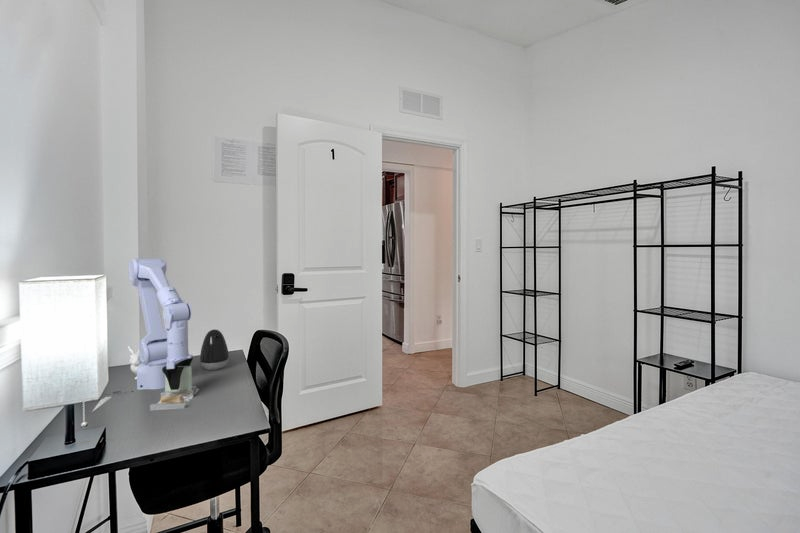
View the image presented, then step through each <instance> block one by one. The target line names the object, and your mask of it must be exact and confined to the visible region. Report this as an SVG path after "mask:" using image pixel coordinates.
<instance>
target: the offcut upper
mask: <svg viewBox="0 0 800 533" xmlns="http://www.w3.org/2000/svg"><path fill="white" fill-rule="evenodd" d="M181 399H182V395H167V396H163V397H162V398H161V397H160V400H161V403H164V402H179V401H180V400H181Z"/></svg>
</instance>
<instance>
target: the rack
mask: <svg viewBox="0 0 800 533" xmlns="http://www.w3.org/2000/svg"><path fill="white" fill-rule="evenodd" d="M199 390H200V388H197V386H195V385H194V386H193V385H192V390H186V391H170V392H166V391H165V390H164V391H161V392H160V399H159V401H158V402H157V403H151V404H149V411H160V410H161V411H163V410H177V409H185V408H186V407H187V405H188V404H189V403H190V402H191V400H192V399H193V398H194V397H195V395H196V394H197V393H198V392H199ZM167 395H182V398H184V402H175V403H160V404H158V403H159V402H160V401H161V398H162V397H163V396H167Z"/></svg>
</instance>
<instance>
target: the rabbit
mask: <svg viewBox="0 0 800 533" xmlns="http://www.w3.org/2000/svg"><path fill="white" fill-rule="evenodd" d="M127 349H128V350H129V354H130V355H129V356H130V358H129V364H130V370H131V372H132V373H133V374H135V375H137V369H138V366H139V364H140V363H143V362H141V360H140V357H139V349H138V351H137V352H135V350H134V349H133V348H132V346H131V345H128V346H127ZM134 380H137V376H135V377H134Z"/></svg>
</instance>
